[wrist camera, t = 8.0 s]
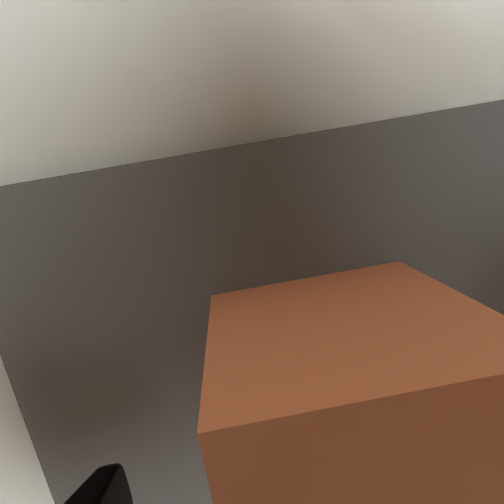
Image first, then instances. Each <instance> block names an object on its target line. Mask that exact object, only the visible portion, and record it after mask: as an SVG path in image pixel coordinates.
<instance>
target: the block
mask: <svg viewBox="0 0 504 504" xmlns="http://www.w3.org/2000/svg"><path fill="white" fill-rule="evenodd" d="M197 436H198V440H199V444H200V449H201V453H202V457H203V461H204V466H205V470H206V474H207V479H208V483H209V487H210V491H211V496H212V500H213V504H504V315H502V314H501V313H499V312H497V311H495V310H493V309H491V308H489V307H487V306H485V305H483V304H481V303H479V302H477V301H475V300H474V299H472V298H470V297H468V296H466V295H464V294H462V293H460V292H458V291H456V290H454V289H452V288H450V287H448V286H447V285H445V284H443V283H441V282H439V281H437V280H435V279H433V278H431V277H429V276H427V275H425V274H423V273H421V272H420V271H418V270H416V269H414V268H412V267H410V266H408V265H406V264H404V263H402V262H400V261H398V262H392V263H386V264H381V265H375V266H370V267H364V268H359V269H353V270H348V271H342V272H337V273H331V274H326V275H320V276H315V277H309V278H304V279H298V280H293V281H287V282H282V283H276V284H271V285H265V286H260V287H254V288H249V289H243V290H238V291H232V292H227V293H221V294H216V295H211V303H210V312H209V322H208V332H207V341H206V351H205V361H204V371H203V380H202V390H201V400H200V409H199V419H198V429H197Z"/></svg>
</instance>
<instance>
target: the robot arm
mask: <svg viewBox="0 0 504 504" xmlns="http://www.w3.org/2000/svg"><path fill="white" fill-rule="evenodd" d="M63 504H133V499H132V494H131V491H130V487H129V484H128V481H127V477H126V474H125V471H124V468H123V466H122V465H121V464H120V463H114V464H109V465H104V466H101V467H99V468H97V469H96V470H95V471H94V472H93V473H92V474H91V475H90V476H89V477H88V478H87V479H86V481H85V482H84V483H83V484H82V485H81V486H80V487H79V488H78V489H77V490H76V491H75V492H74V493H73V494H72V495H71V496H70V497H69V498H68V499H67V500H66V501H65V502H64V503H63Z"/></svg>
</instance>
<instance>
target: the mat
mask: <svg viewBox="0 0 504 504" xmlns="http://www.w3.org/2000/svg"><path fill="white" fill-rule="evenodd" d="M398 261H400V262H402V263H404V264H406V265H408V266H410V267H412V268H414V269H416V270H418V271H420V272H421V273H423V274H425V275H427V276H429V277H431V278H433V279H435V280H437V281H439V282H441V283H443V284H445V285H447V286H448V287H450V288H452V289H454V290H456V291H458V292H460V293H462V294H464V295H466V296H468V297H470V298H472V299H474V300H475V301H477V302H479V303H481V304H483V305H485V306H487V307H489V308H491V309H493V310H495V311H497V312H499V313H501V314H502V315H504V100H500V101H494V102H488V103H482V104H476V105H471V106H465V107H459V108H453V109H447V110H442V111H436V112H430V113H424V114H418V115H413V116H407V117H401V118H395V119H389V120H383V121H378V122H372V123H366V124H360V125H354V126H349V127H343V128H337V129H331V130H325V131H320V132H314V133H308V134H302V135H296V136H290V137H285V138H279V139H273V140H267V141H261V142H256V143H250V144H244V145H238V146H232V147H226V148H221V149H215V150H209V151H203V152H197V153H192V154H186V155H180V156H174V157H168V158H163V159H157V160H151V161H145V162H139V163H133V164H128V165H122V166H116V167H110V168H104V169H99V170H93V171H87V172H81V173H75V174H70V175H64V176H58V177H52V178H46V179H40V180H35V181H29V182H23V183H17V184H11V185H6V186H0V356H1V358H2V361H3V364H4V366H5V369H6V372H7V375H8V377H9V380H10V383H11V385H12V388H13V391H14V394H15V396H16V399H17V402H18V404H19V407H20V410H21V413H22V415H23V418H24V421H25V423H26V426H27V429H28V432H29V434H30V437H31V440H32V442H33V445H34V448H35V451H36V453H37V456H38V459H39V461H40V464H41V467H42V470H43V472H44V475H45V478H46V480H47V483H48V486H49V489H50V491H51V494H52V497H53V500H54V502H55V504H63V503H64V502H65V501H66V500H67V499H68V498H69V497H70V496H71V495H72V494H73V493H74V492H75V491H76V490H77V489H78V488H79V487H80V486H81V485H82V484H83V483H84V482H85V481H86V479H87V478H88V477H89V476H90V475H91V474H92V473H93V472H94V471H95V470H96V469H97V468H99V467H101V466H104V465H109V464H114V463H120V464H121V465H122V466H123V468H124V471H125V474H126V477H127V481H128V484H129V487H130V491H131V494H132V499H133V504H213V500H212V496H211V491H210V487H209V483H208V479H207V474H206V470H205V466H204V461H203V457H202V453H201V449H200V444H199V440H198V436H197V429H198V419H199V409H200V400H201V390H202V380H203V371H204V361H205V351H206V341H207V332H208V322H209V312H210V303H211V295H216V294H221V293H227V292H232V291H238V290H243V289H249V288H254V287H260V286H265V285H271V284H276V283H282V282H287V281H293V280H298V279H304V278H309V277H315V276H320V275H326V274H331V273H337V272H342V271H348V270H353V269H359V268H364V267H370V266H375V265H381V264H386V263H392V262H398Z"/></svg>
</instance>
